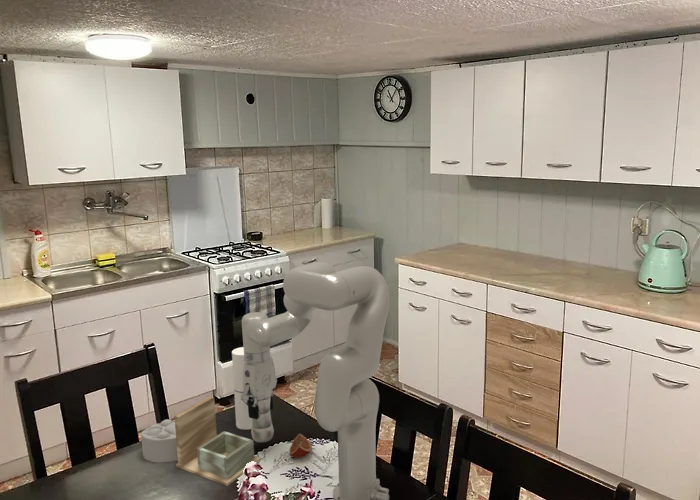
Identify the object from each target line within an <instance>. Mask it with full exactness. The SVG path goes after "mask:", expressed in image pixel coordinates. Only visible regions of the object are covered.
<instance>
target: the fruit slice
mask: <svg viewBox="0 0 700 500" xmlns="http://www.w3.org/2000/svg"><path fill="white" fill-rule="evenodd" d="M288 451H289V452H288V454H289V455H290V456H291V457H292V458H296V459H300V458H303V457H307V456H308V455H309V454H311V452H312V451H313V446H312V443H311V442H310V441H309V439H308V438H307V437H305V435H303V434H302V433H300V432H299V433H298V434H297V435H296V436H295V437H294V438H293V440H292V443H291V445H290V448H289V450H288Z"/></svg>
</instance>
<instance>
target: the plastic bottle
mask: <svg viewBox="0 0 700 500" xmlns="http://www.w3.org/2000/svg"><path fill="white" fill-rule="evenodd" d="M251 395H252V394H251ZM270 399H271V391H268V392H266V393H265V394H264V395H263V396H261V397H259V398H257V403H256V406H258V416H259V418H258V419H253V418H252V428H251V429H250V431H251V432H250V433H251V437H252V440H253V441H255V442H256V443H267V442H270V441H271V440H272V439H273V437H274V432H275V430H274V426H273V425H274V424H273V421H272V414H271V410H270ZM251 401H253V397H251Z"/></svg>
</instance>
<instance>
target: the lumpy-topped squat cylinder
mask: <svg viewBox="0 0 700 500" xmlns="http://www.w3.org/2000/svg"><path fill="white" fill-rule="evenodd" d="M140 436H141V437H140V438H141V447H142V457H143V459H144V460H146V461H148V462H152V463H169V462H175V461H176V462H178V454H177V441H176V429H175V421H173V420H171V419H168V418H167V419H164V420H162V421H161V422H159V423H158V422H157V423H154V424H151V425H150V426H149V427H147V428H145V429H144V430H143V431H141V434H140Z"/></svg>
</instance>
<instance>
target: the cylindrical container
mask: <svg viewBox="0 0 700 500" xmlns="http://www.w3.org/2000/svg"><path fill="white" fill-rule="evenodd" d="M231 359H232V360H231V361H232V375H233V392H234V394H233V396H234V409H235V426H236V428H237V429H239V430H251V428H252V418H249V412H248V406H247V405H246V404H245V403H244V402H243V401H242V400H241V396H242V394H243V392H244V389H243V369H244V363H245V361H244V347H243V346H241V347H237V348H234V349H233V350H232V351H231Z"/></svg>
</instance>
